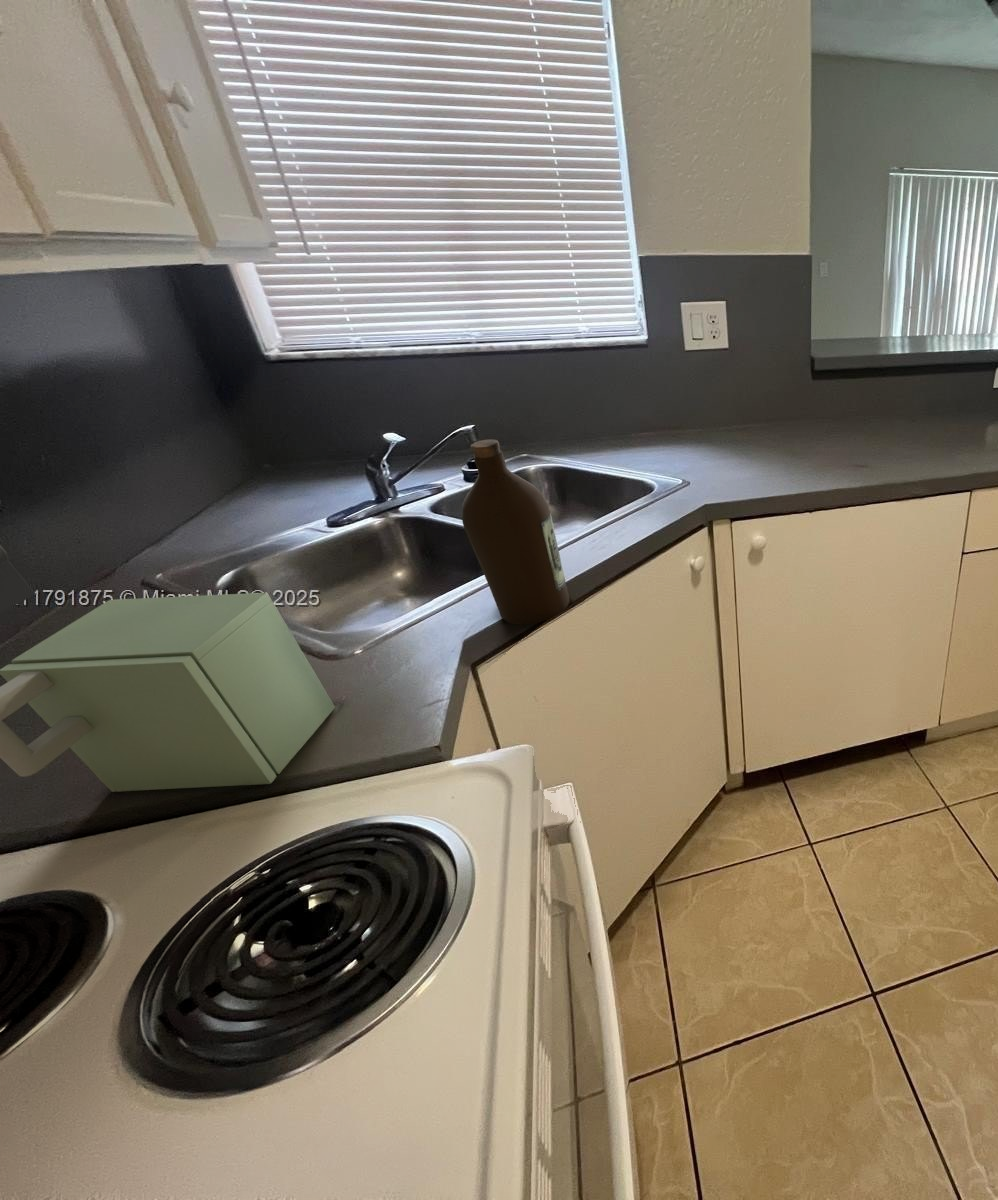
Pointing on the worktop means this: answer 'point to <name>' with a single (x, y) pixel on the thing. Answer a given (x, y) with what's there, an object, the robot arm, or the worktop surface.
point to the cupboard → (211, 658)
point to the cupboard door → (130, 724)
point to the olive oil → (513, 540)
